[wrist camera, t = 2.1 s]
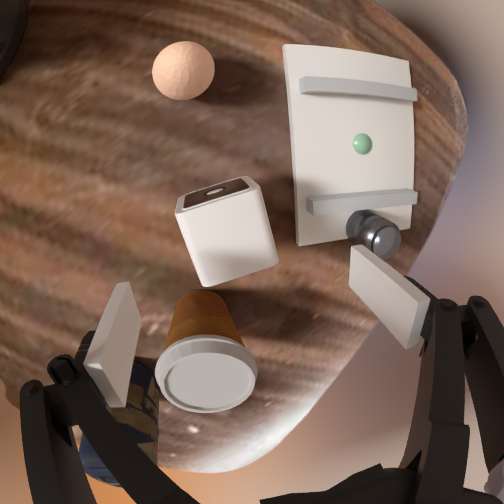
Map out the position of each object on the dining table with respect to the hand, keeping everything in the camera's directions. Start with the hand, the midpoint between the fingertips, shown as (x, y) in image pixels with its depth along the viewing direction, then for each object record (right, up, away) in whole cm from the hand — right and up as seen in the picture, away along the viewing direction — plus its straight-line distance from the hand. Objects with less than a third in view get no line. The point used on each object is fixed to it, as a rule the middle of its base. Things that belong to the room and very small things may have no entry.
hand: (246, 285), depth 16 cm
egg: (-6, +19, +8) cm, 21 cm away
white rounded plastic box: (-3, +6, +14) cm, 15 cm away
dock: (+12, +14, +13) cm, 23 cm away
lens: (+13, +5, +16) cm, 22 cm away
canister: (-18, -16, +21) cm, 32 cm away
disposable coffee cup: (-6, -5, +18) cm, 20 cm away
